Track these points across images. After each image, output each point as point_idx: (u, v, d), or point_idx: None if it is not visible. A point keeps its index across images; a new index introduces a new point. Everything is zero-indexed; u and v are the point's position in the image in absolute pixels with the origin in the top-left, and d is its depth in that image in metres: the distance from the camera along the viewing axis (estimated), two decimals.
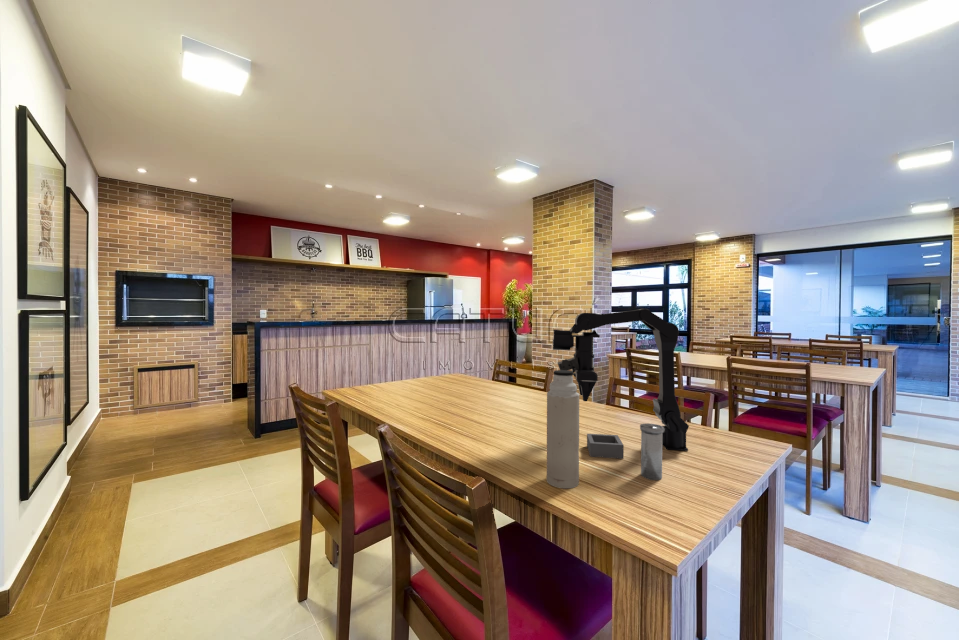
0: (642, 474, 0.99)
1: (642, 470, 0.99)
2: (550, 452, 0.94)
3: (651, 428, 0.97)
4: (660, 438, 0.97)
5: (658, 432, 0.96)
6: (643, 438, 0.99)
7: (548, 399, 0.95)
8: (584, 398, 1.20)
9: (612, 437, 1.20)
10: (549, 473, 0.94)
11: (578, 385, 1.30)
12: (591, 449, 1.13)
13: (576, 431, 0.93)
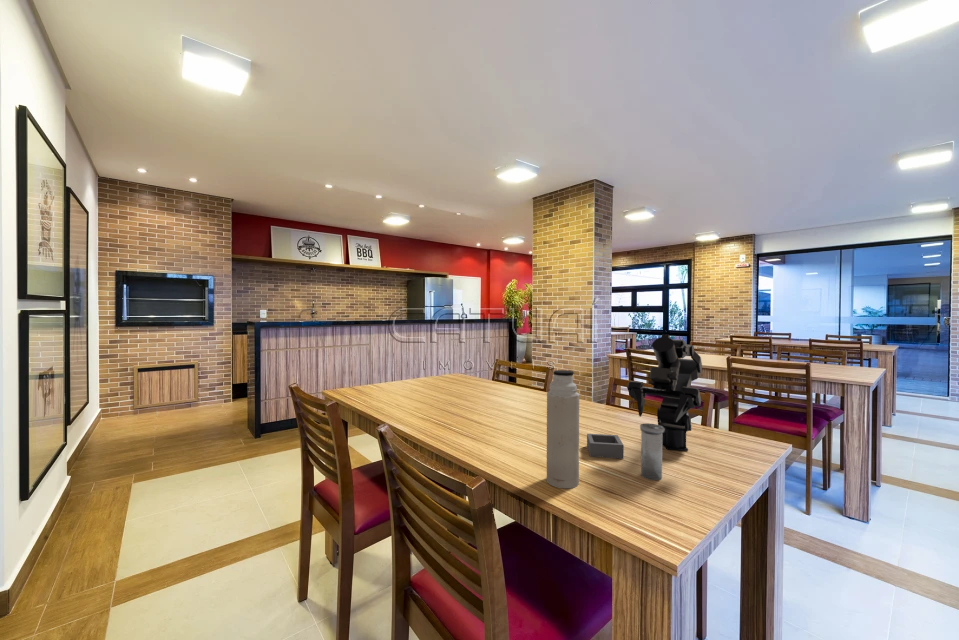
0: (642, 474, 0.99)
1: (642, 470, 0.99)
2: (550, 452, 0.94)
3: (651, 428, 0.97)
4: (660, 438, 0.97)
5: (658, 432, 0.96)
6: (643, 438, 0.99)
7: (548, 399, 0.95)
8: (677, 418, 1.03)
9: (612, 437, 1.20)
10: (549, 473, 0.94)
11: (640, 403, 1.10)
12: (591, 449, 1.13)
13: (576, 431, 0.93)
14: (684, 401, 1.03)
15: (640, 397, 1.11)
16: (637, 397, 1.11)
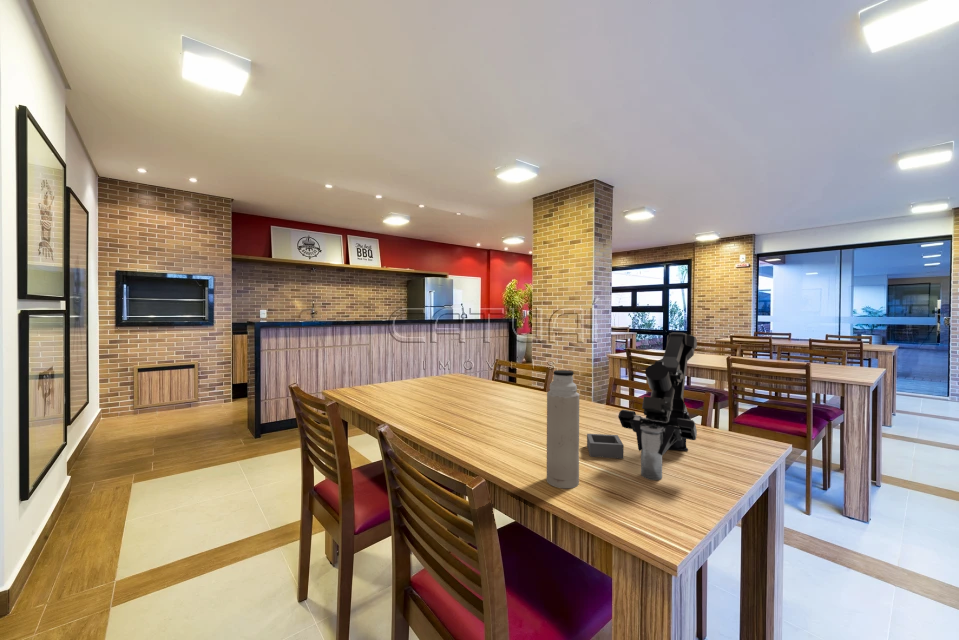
0: (642, 474, 0.99)
1: (642, 470, 0.99)
2: (551, 452, 0.94)
3: (651, 428, 0.97)
4: (660, 438, 0.97)
5: (658, 432, 0.96)
6: (643, 438, 0.99)
7: (548, 399, 0.95)
8: (663, 451, 0.97)
9: (612, 437, 1.20)
10: (549, 473, 0.94)
11: (639, 436, 1.01)
12: (591, 449, 1.13)
13: (576, 431, 0.93)
14: (671, 433, 0.98)
15: (639, 429, 1.02)
16: (636, 429, 1.03)
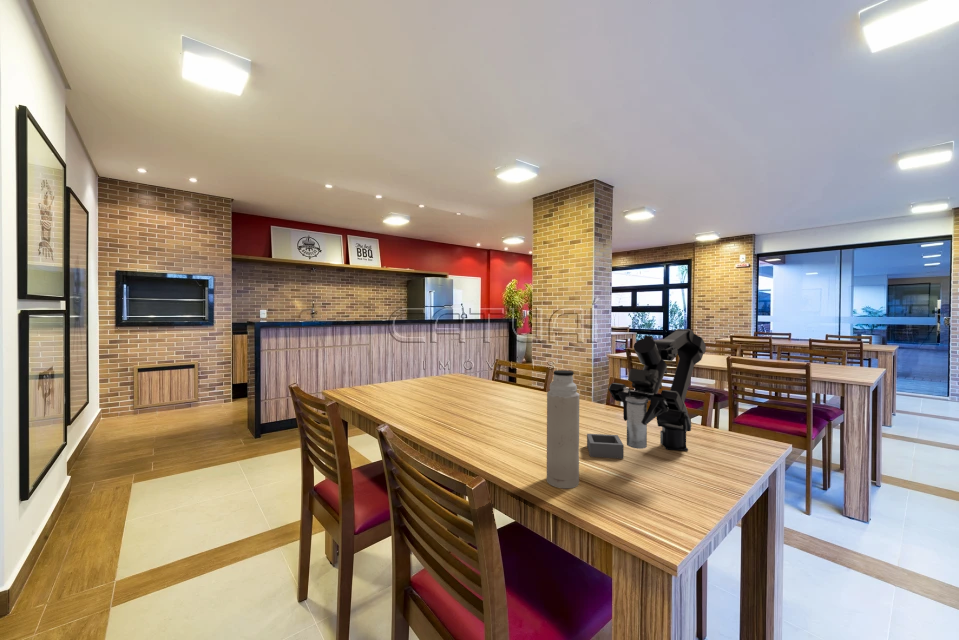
0: (627, 443, 1.03)
1: (627, 439, 1.03)
2: (551, 452, 0.94)
3: (635, 398, 1.01)
4: (643, 408, 1.00)
5: (641, 402, 1.00)
6: (627, 408, 1.02)
7: (548, 399, 0.95)
8: (646, 420, 1.00)
9: (612, 437, 1.20)
10: (549, 473, 0.94)
11: (626, 407, 1.05)
12: (591, 449, 1.13)
13: (576, 431, 0.93)
14: (655, 403, 1.00)
15: None
16: (624, 401, 1.06)
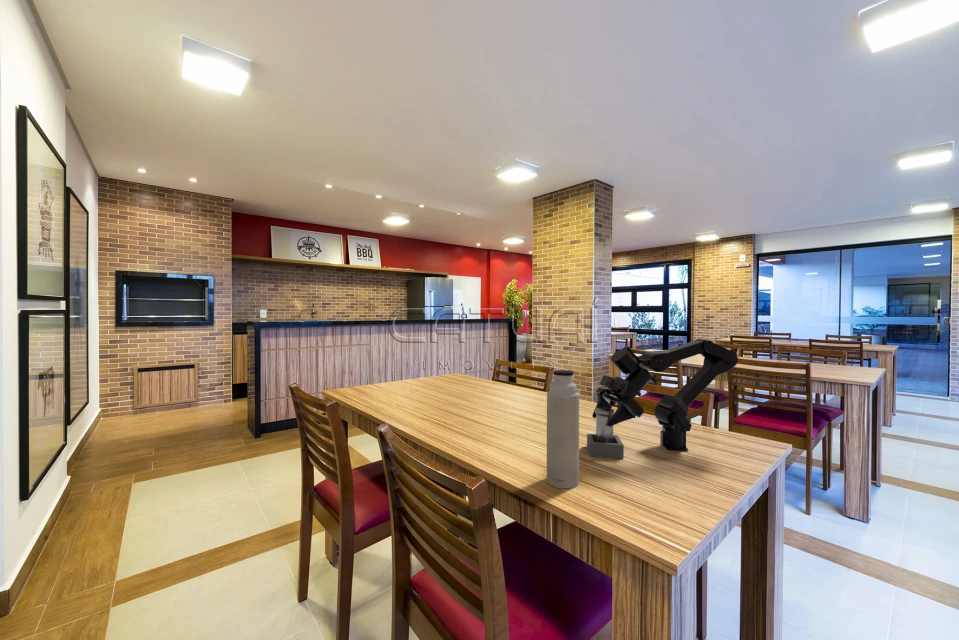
0: None
1: None
2: (550, 452, 0.94)
3: (599, 410, 1.16)
4: (605, 419, 1.14)
5: (602, 414, 1.14)
6: None
7: (548, 399, 0.95)
8: (610, 423, 1.11)
9: None
10: (549, 473, 0.94)
11: (597, 407, 1.21)
12: (591, 449, 1.13)
13: (576, 431, 0.93)
14: (619, 409, 1.11)
15: (599, 401, 1.22)
16: (598, 401, 1.23)
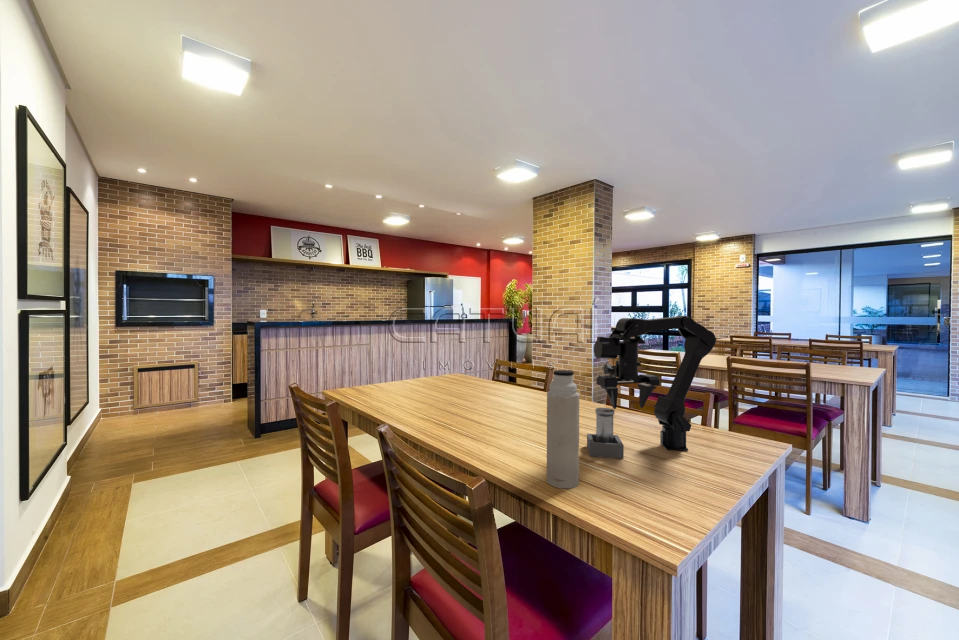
0: None
1: None
2: (550, 452, 0.94)
3: (599, 410, 1.16)
4: (605, 419, 1.14)
5: (602, 414, 1.14)
6: None
7: (548, 399, 0.95)
8: (612, 405, 1.18)
9: None
10: (549, 473, 0.94)
11: None
12: (591, 449, 1.13)
13: (576, 431, 0.93)
14: None
15: None
16: None
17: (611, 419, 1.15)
